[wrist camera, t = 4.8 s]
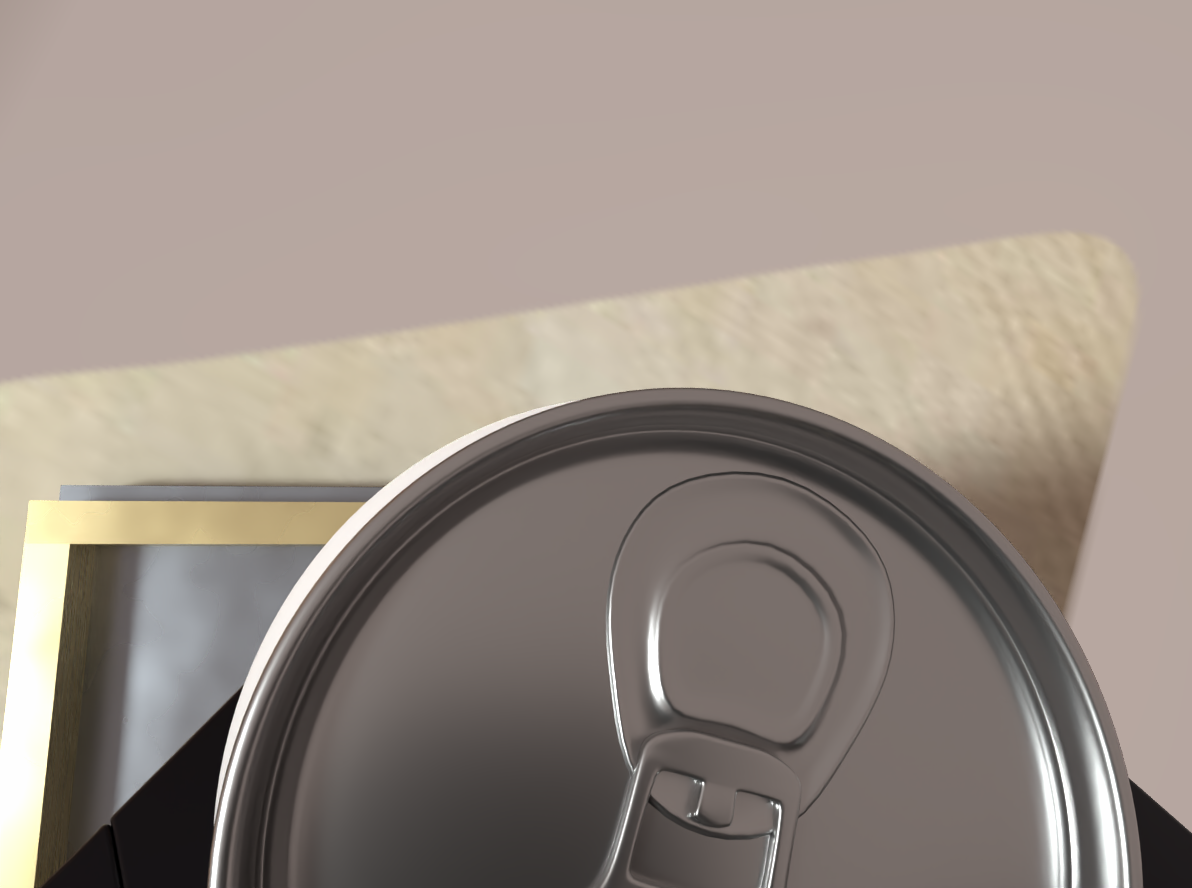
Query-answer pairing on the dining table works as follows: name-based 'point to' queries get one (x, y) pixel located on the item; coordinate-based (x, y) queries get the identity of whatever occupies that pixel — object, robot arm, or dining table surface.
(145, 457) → the dining table surface
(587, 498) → the can
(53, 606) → the gold square coaster
